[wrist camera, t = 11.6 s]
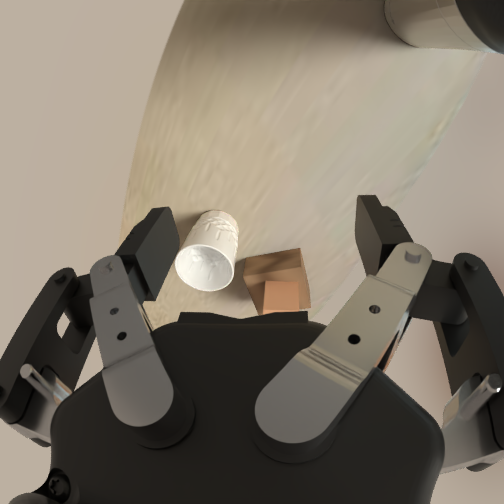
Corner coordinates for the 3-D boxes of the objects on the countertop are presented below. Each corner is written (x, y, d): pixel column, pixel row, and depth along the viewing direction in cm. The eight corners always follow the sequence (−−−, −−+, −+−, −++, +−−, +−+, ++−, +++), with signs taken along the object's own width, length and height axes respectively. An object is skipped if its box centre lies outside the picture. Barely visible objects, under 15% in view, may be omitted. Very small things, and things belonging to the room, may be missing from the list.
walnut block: (300, 246, 47) (301, 266, 43) (309, 287, 52) (310, 307, 48) (246, 256, 50) (242, 276, 46) (260, 294, 55) (258, 315, 51)
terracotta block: (298, 281, 45) (299, 310, 40) (295, 304, 48) (296, 333, 43) (265, 280, 46) (263, 309, 41) (265, 303, 49) (263, 331, 44)
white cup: (247, 245, 48) (240, 288, 40) (202, 252, 49) (187, 293, 41) (235, 202, 43) (223, 240, 35) (186, 211, 45) (165, 249, 37)
